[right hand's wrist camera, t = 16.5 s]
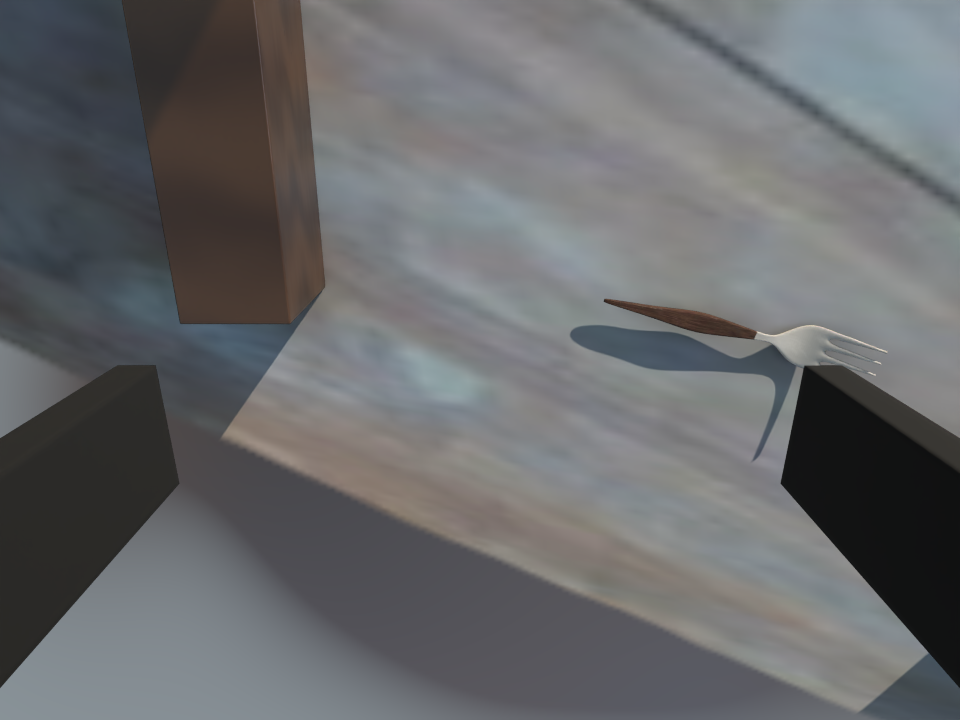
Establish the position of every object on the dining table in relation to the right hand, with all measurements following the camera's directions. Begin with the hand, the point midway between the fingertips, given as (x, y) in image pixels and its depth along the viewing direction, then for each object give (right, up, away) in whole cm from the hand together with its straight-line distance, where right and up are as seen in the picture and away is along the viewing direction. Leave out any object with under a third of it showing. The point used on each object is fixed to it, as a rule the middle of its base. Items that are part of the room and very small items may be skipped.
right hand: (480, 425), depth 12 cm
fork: (+15, +3, +23) cm, 27 cm away
